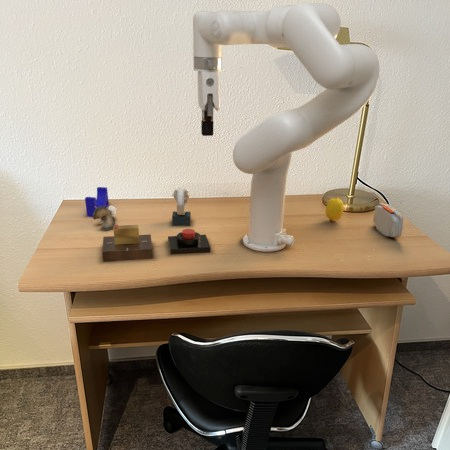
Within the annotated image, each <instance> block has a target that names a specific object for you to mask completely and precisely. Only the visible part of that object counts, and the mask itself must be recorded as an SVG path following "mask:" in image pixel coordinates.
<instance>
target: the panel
mask: <svg viewBox="0 0 450 450" xmlns="http://www.w3.org/2000/svg"><path fill="white" fill-rule="evenodd" d="M101 249H102V250H101V254H102V261H103V262H105V263H106V262H119V261H120V262H122V261H123V262H124V261H139V260H153V259H154V255H153V243H152V236H151V234H150V233H149V234H139V244H117V245H115V240H114V235H110V236H103V237H102V248H101Z"/></svg>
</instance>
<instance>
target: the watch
mask: <svg viewBox="0 0 450 450" xmlns="http://www.w3.org/2000/svg"><path fill="white" fill-rule="evenodd" d="M171 196H172V197H173V198H174V200H175V202H176V211H172V215H171V222H172V223H171V224H172V227H190V226H191V224H192V223H191V221H192V220H191V219H192V218H191V217H192V215H191V211H186V204H187V203H188V200H189V199H190V191H189V190H188V189H187V188H184V187H179V188H175V189H174V191H173V193H172V194H171Z"/></svg>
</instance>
